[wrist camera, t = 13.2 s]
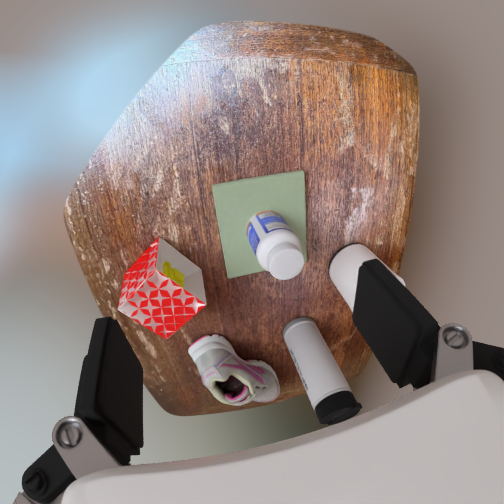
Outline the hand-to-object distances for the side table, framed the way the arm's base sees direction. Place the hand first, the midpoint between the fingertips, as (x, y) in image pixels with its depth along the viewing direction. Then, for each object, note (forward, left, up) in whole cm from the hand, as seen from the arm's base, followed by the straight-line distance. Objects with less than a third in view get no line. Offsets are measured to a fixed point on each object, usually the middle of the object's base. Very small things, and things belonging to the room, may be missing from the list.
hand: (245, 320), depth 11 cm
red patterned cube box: (+15, -8, -28) cm, 33 cm away
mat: (+11, +7, -28) cm, 31 cm away
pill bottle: (+11, +7, -28) cm, 31 cm away
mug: (+22, +21, -28) cm, 42 cm away
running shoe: (+39, -1, -28) cm, 48 cm away
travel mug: (+33, +12, -28) cm, 45 cm away
